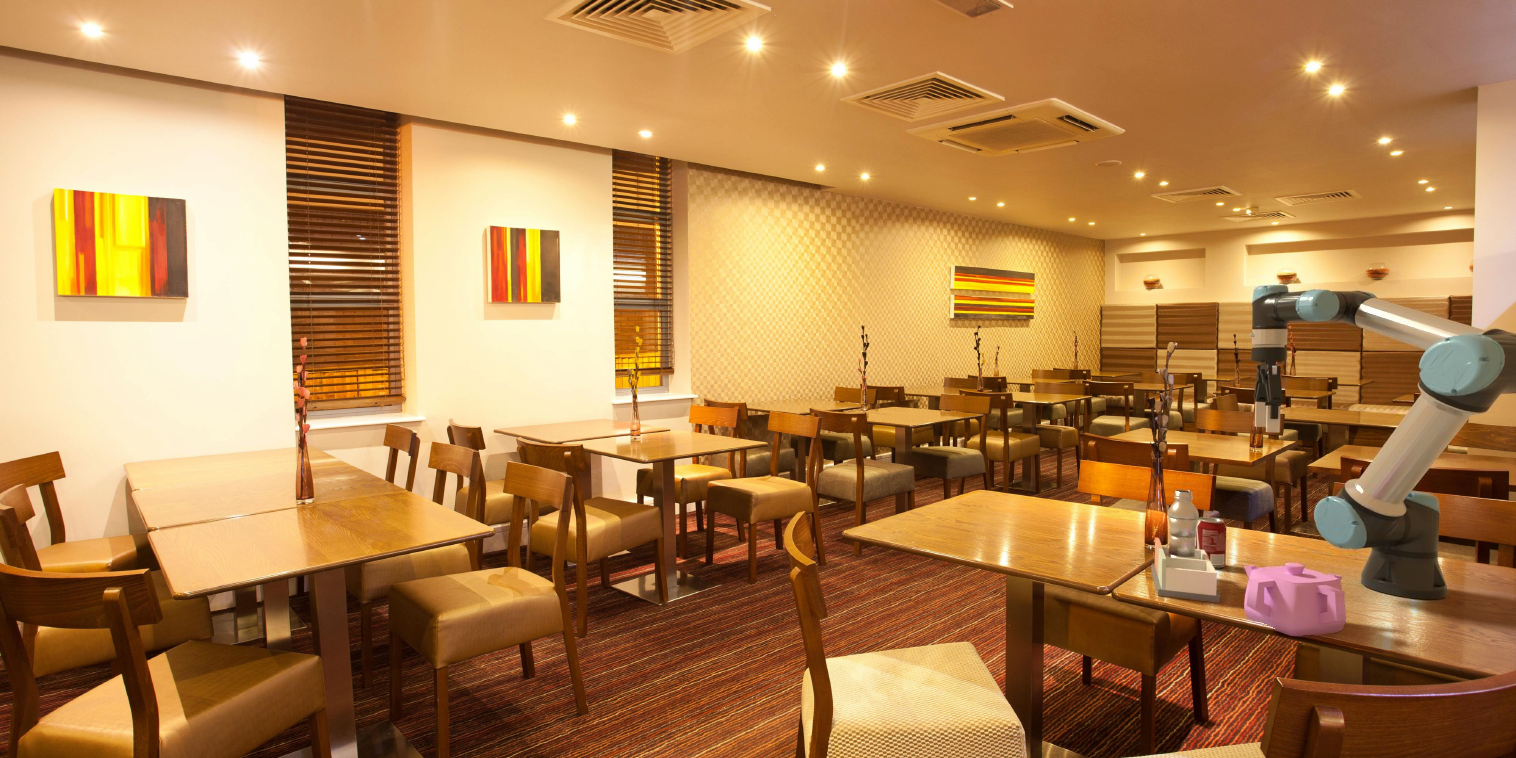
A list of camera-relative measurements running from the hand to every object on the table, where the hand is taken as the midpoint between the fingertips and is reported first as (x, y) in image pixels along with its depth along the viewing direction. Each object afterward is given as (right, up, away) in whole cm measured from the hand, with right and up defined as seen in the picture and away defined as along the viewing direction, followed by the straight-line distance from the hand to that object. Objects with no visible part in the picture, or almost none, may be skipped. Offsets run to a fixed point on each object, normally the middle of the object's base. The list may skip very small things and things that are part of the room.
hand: (1266, 429), depth 195 cm
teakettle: (-22, -37, -40) cm, 59 cm away
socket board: (-31, -36, -16) cm, 50 cm away
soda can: (-15, -35, 0) cm, 38 cm away
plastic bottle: (-29, -34, -12) cm, 46 cm away
